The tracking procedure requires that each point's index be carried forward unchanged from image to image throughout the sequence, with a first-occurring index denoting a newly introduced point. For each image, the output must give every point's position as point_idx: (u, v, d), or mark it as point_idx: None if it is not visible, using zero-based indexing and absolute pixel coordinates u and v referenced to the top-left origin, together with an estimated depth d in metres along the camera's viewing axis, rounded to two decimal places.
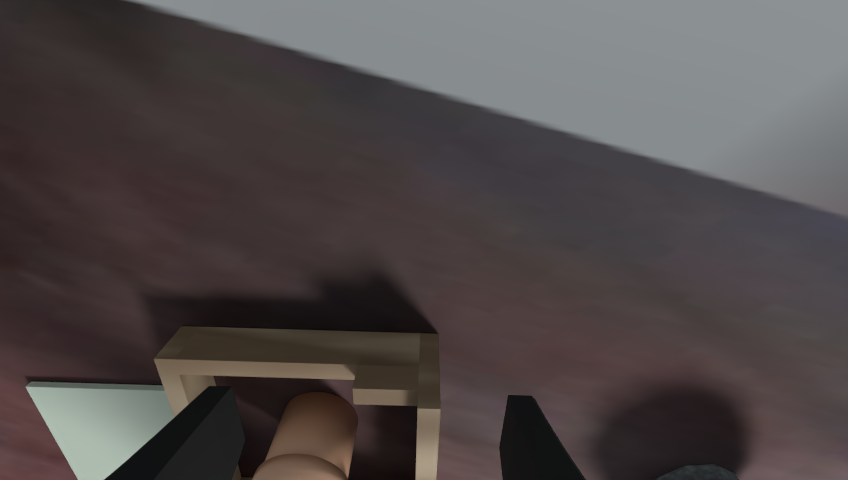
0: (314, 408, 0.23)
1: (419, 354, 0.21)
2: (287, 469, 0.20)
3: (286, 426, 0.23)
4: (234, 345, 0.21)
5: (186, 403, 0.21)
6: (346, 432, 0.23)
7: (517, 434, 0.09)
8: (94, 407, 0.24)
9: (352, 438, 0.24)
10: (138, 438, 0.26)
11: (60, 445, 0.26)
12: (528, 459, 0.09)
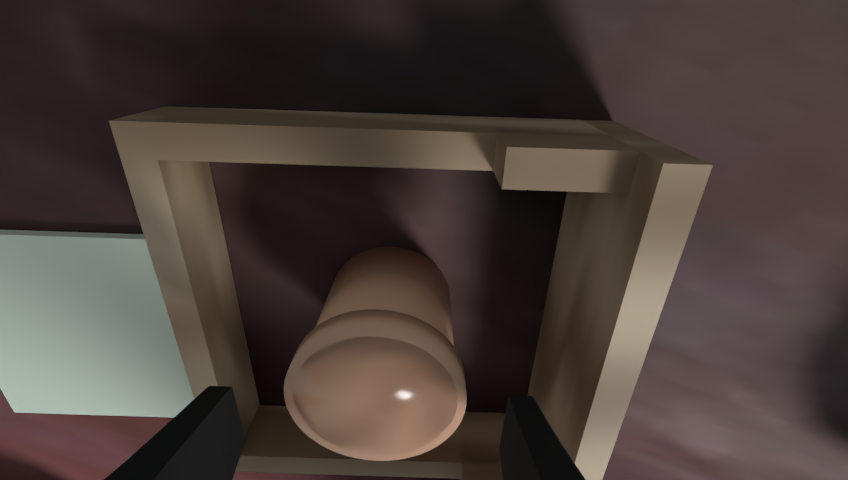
0: (390, 263, 0.14)
1: (601, 129, 0.11)
2: (363, 331, 0.10)
3: (346, 285, 0.13)
4: (260, 117, 0.11)
5: (172, 228, 0.12)
6: (445, 303, 0.14)
7: (517, 434, 0.09)
8: (25, 273, 0.15)
9: (451, 317, 0.14)
10: (98, 332, 0.16)
11: None
12: (528, 459, 0.09)
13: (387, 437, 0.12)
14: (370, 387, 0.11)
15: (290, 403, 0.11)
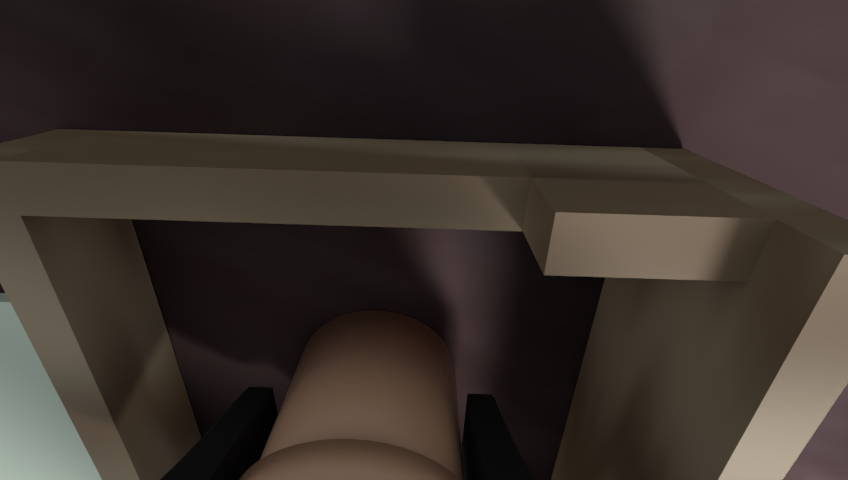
0: (374, 339, 0.10)
1: (682, 168, 0.08)
2: None
3: (313, 376, 0.09)
4: (180, 149, 0.08)
5: (57, 308, 0.08)
6: (449, 393, 0.10)
7: (472, 433, 0.09)
8: None
9: (457, 410, 0.11)
10: (3, 412, 0.13)
11: None
12: (479, 457, 0.09)
13: None
14: None
15: None
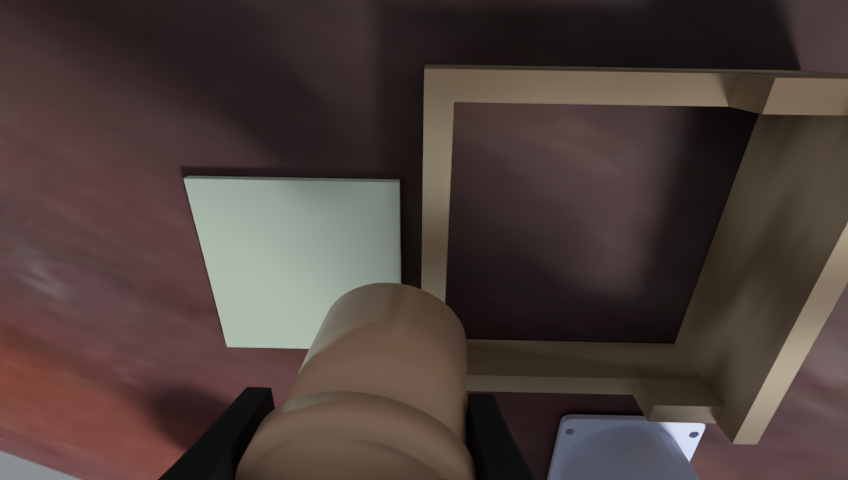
0: (390, 309, 0.11)
1: (813, 72, 0.14)
2: (335, 431, 0.07)
3: (331, 338, 0.10)
4: (526, 68, 0.14)
5: (448, 162, 0.14)
6: (458, 365, 0.11)
7: (473, 433, 0.09)
8: (273, 215, 0.18)
9: (466, 381, 0.11)
10: (322, 268, 0.19)
11: (213, 283, 0.19)
12: (480, 457, 0.09)
13: None
14: None
15: None
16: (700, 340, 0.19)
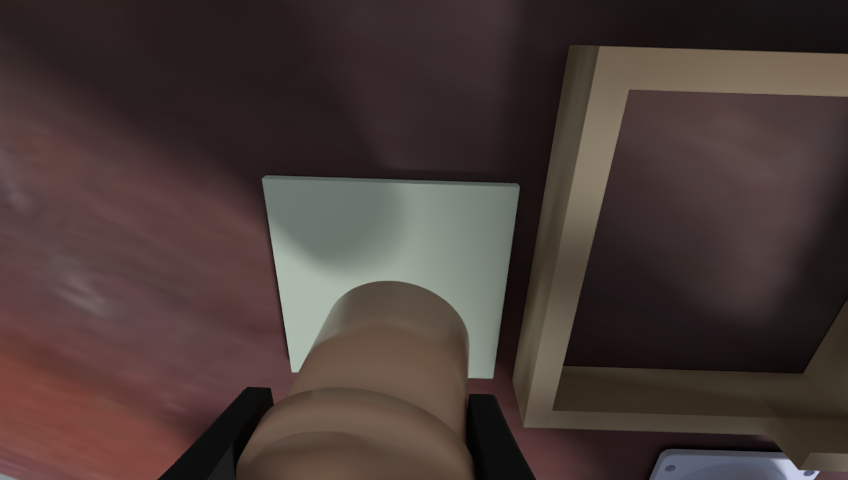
0: (393, 307, 0.11)
1: None
2: (335, 426, 0.07)
3: (333, 335, 0.10)
4: (709, 50, 0.11)
5: (607, 164, 0.12)
6: (460, 364, 0.11)
7: (474, 433, 0.09)
8: (364, 223, 0.15)
9: (467, 381, 0.11)
10: None
11: (283, 301, 0.16)
12: (481, 457, 0.09)
13: None
14: None
15: None
16: None
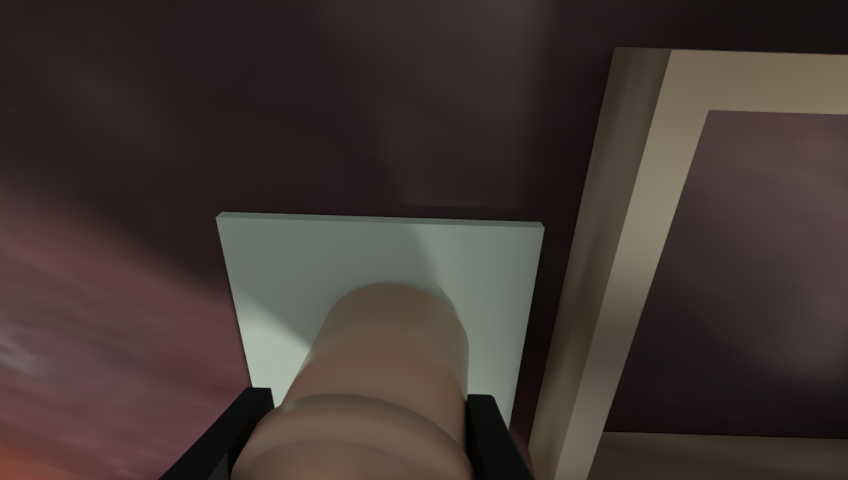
0: (391, 311, 0.11)
1: None
2: (331, 434, 0.07)
3: (330, 340, 0.10)
4: None
5: (670, 210, 0.09)
6: (459, 369, 0.10)
7: (472, 433, 0.09)
8: (347, 271, 0.12)
9: (467, 386, 0.11)
10: None
11: (250, 361, 0.13)
12: (479, 457, 0.09)
13: None
14: None
15: None
16: None
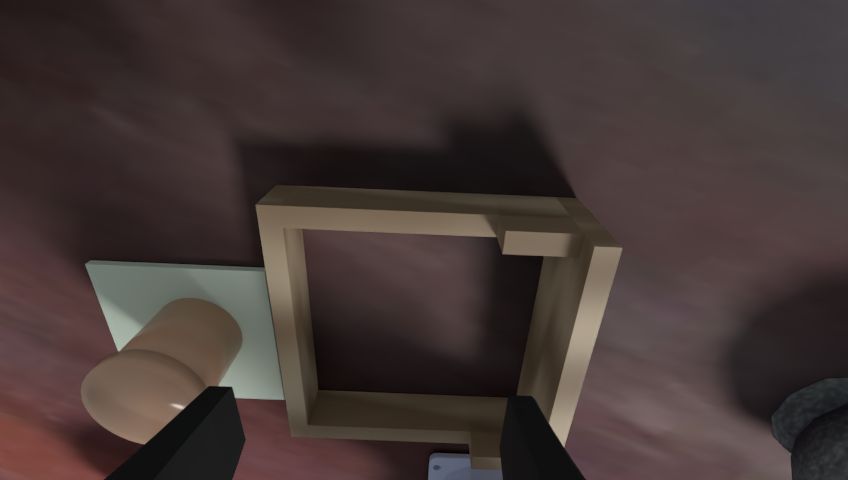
0: (181, 312, 0.20)
1: (566, 210, 0.17)
2: (121, 364, 0.17)
3: (143, 328, 0.19)
4: (345, 198, 0.18)
5: (285, 269, 0.18)
6: (217, 340, 0.20)
7: (517, 434, 0.09)
8: (162, 293, 0.21)
9: (226, 349, 0.21)
10: None
11: (117, 344, 0.23)
12: (528, 459, 0.09)
13: (157, 430, 0.18)
14: (136, 398, 0.18)
15: (88, 407, 0.18)
16: None
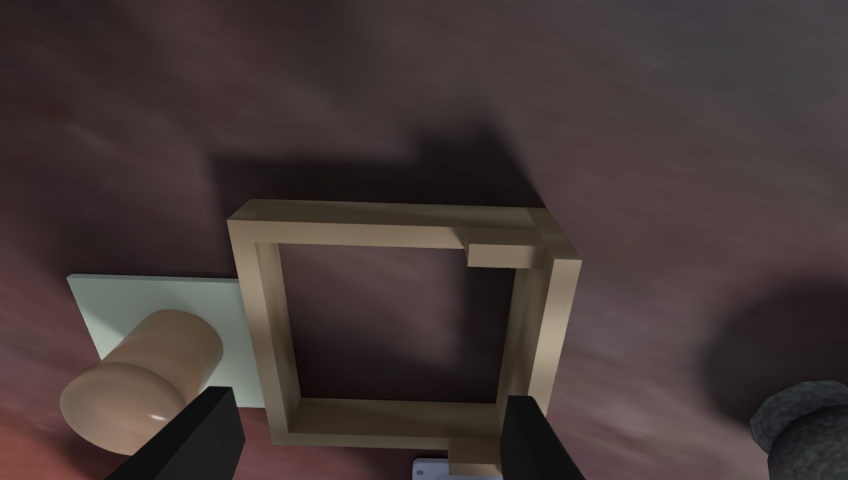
0: (160, 324, 0.21)
1: (533, 221, 0.18)
2: (98, 377, 0.17)
3: (123, 340, 0.20)
4: (316, 212, 0.18)
5: (259, 282, 0.18)
6: (196, 351, 0.21)
7: (517, 434, 0.09)
8: (143, 305, 0.21)
9: (205, 360, 0.21)
10: None
11: (101, 355, 0.23)
12: (528, 459, 0.09)
13: (136, 440, 0.19)
14: (114, 410, 0.18)
15: (67, 419, 0.18)
16: (502, 406, 0.23)
